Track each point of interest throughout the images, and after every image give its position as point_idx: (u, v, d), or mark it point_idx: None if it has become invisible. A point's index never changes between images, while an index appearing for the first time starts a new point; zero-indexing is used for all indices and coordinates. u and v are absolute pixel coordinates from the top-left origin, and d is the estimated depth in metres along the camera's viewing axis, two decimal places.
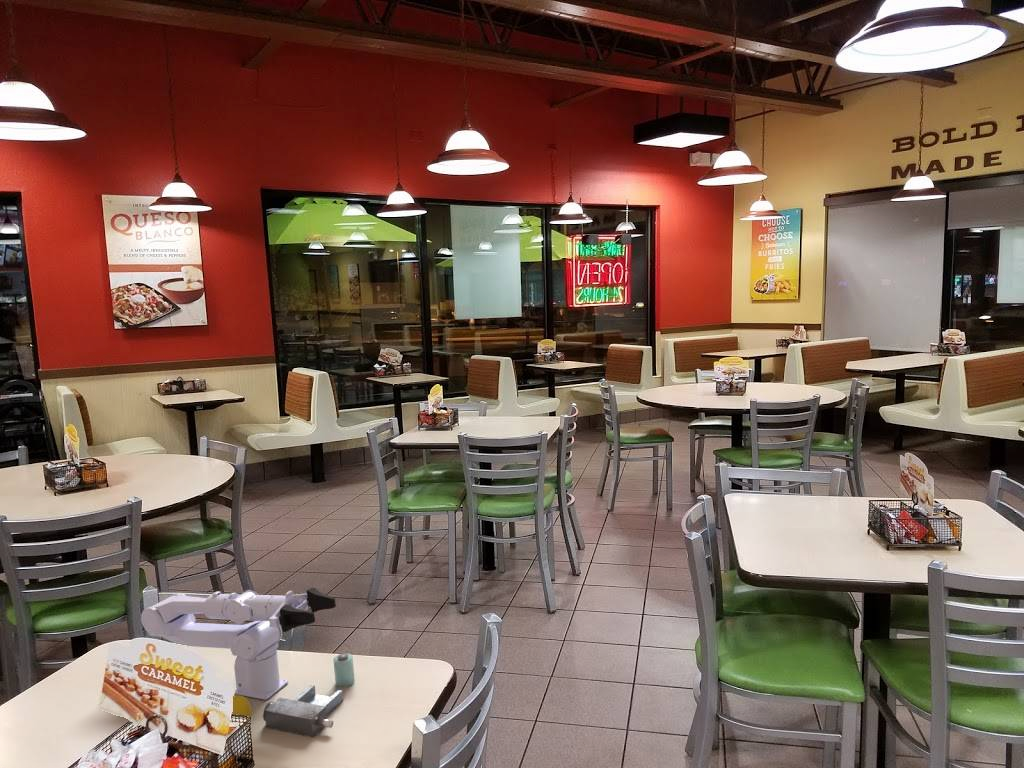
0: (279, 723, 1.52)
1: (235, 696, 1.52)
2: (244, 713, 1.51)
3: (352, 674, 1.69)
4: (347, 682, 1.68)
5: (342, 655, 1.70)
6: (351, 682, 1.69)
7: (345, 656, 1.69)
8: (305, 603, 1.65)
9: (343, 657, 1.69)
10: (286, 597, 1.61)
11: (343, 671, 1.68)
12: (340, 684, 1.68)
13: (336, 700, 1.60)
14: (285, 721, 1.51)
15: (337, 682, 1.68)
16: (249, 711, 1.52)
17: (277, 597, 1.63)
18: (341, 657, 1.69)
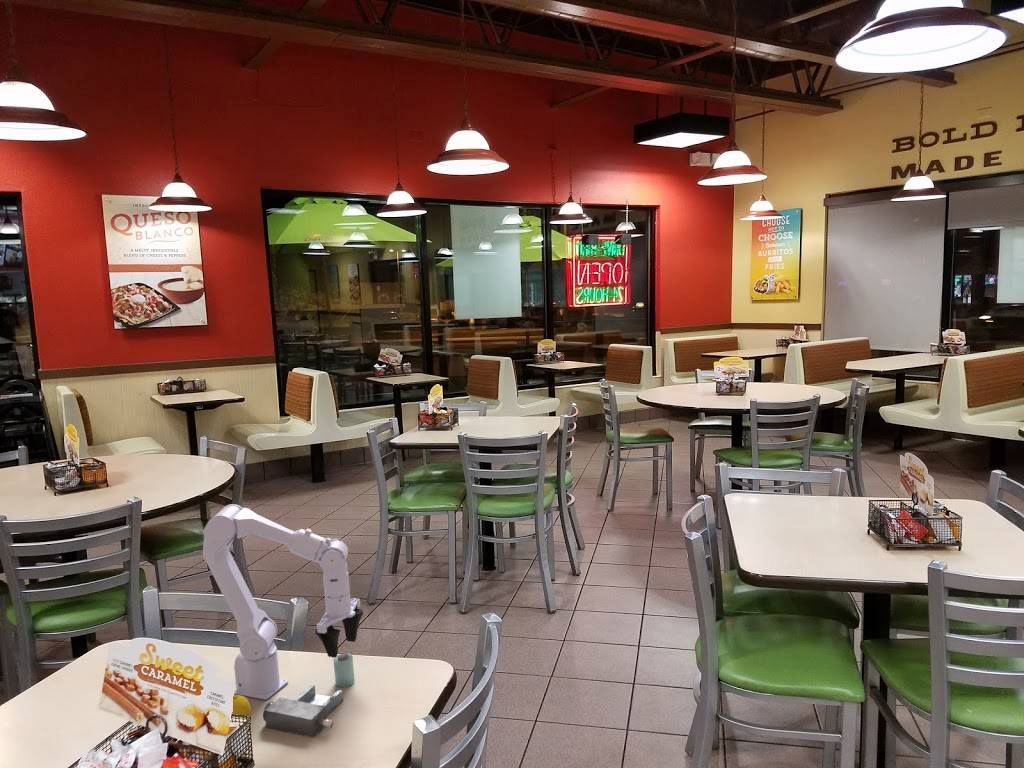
0: (279, 723, 1.52)
1: (235, 696, 1.52)
2: (244, 713, 1.51)
3: (352, 674, 1.69)
4: (347, 682, 1.68)
5: (342, 655, 1.70)
6: (351, 682, 1.69)
7: (345, 656, 1.69)
8: None
9: (343, 657, 1.69)
10: (347, 616, 1.66)
11: (343, 671, 1.68)
12: (340, 684, 1.68)
13: (336, 700, 1.60)
14: (285, 721, 1.51)
15: (337, 682, 1.68)
16: (249, 711, 1.52)
17: (347, 601, 1.66)
18: (341, 657, 1.69)
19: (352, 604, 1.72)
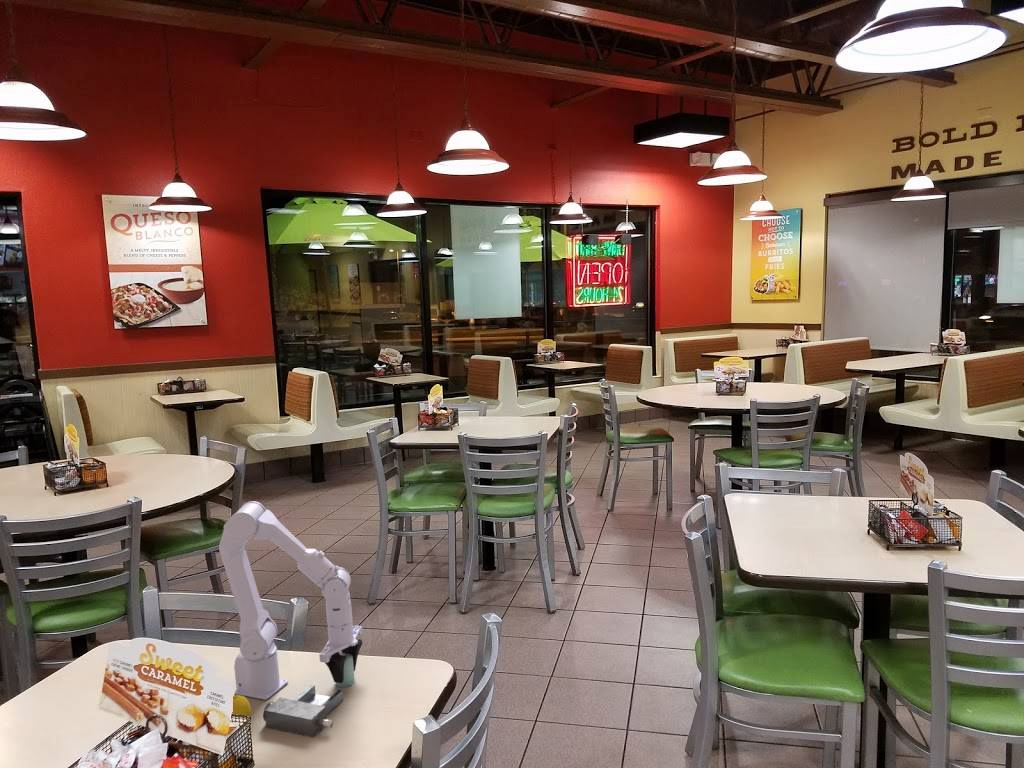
0: (279, 723, 1.52)
1: (235, 696, 1.52)
2: (244, 713, 1.51)
3: (352, 674, 1.69)
4: (347, 682, 1.68)
5: None
6: (351, 682, 1.69)
7: None
8: None
9: None
10: (350, 644, 1.67)
11: None
12: (340, 684, 1.68)
13: (336, 700, 1.60)
14: (285, 721, 1.51)
15: None
16: (249, 711, 1.52)
17: (349, 630, 1.67)
18: None
19: (354, 632, 1.73)
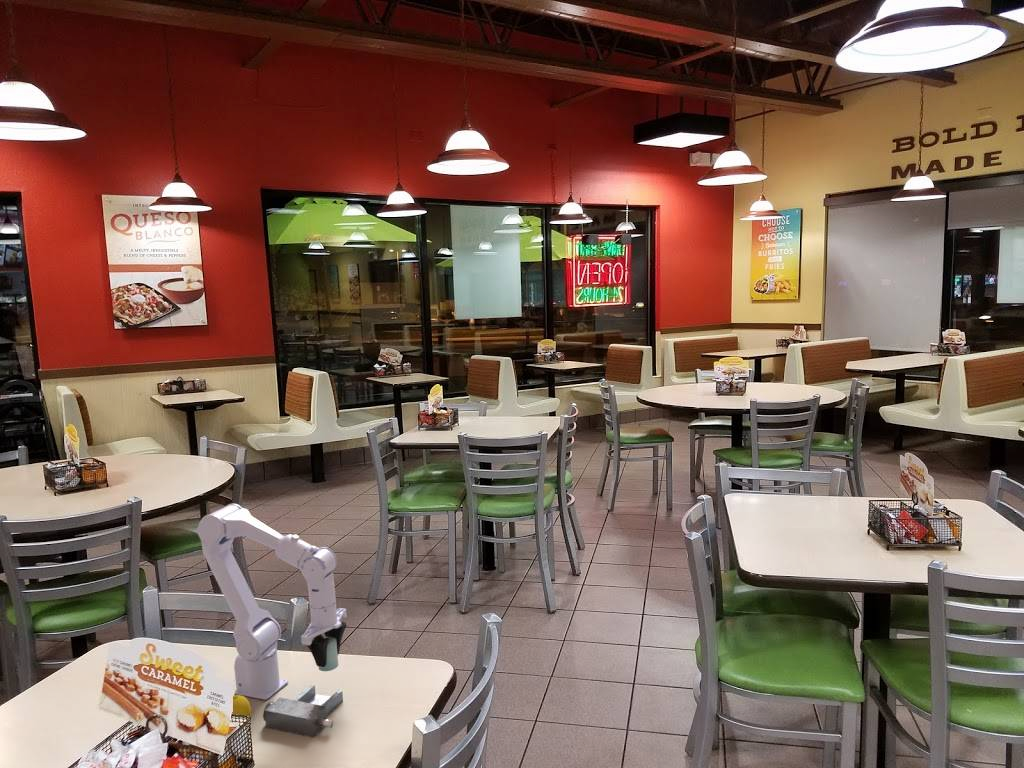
0: (279, 723, 1.52)
1: (235, 696, 1.52)
2: (244, 713, 1.51)
3: (336, 658, 1.63)
4: (330, 666, 1.62)
5: None
6: (335, 666, 1.63)
7: None
8: None
9: None
10: (333, 627, 1.61)
11: (327, 654, 1.62)
12: (323, 668, 1.62)
13: (336, 700, 1.60)
14: (285, 721, 1.51)
15: None
16: (249, 711, 1.52)
17: (332, 612, 1.61)
18: None
19: (338, 614, 1.67)
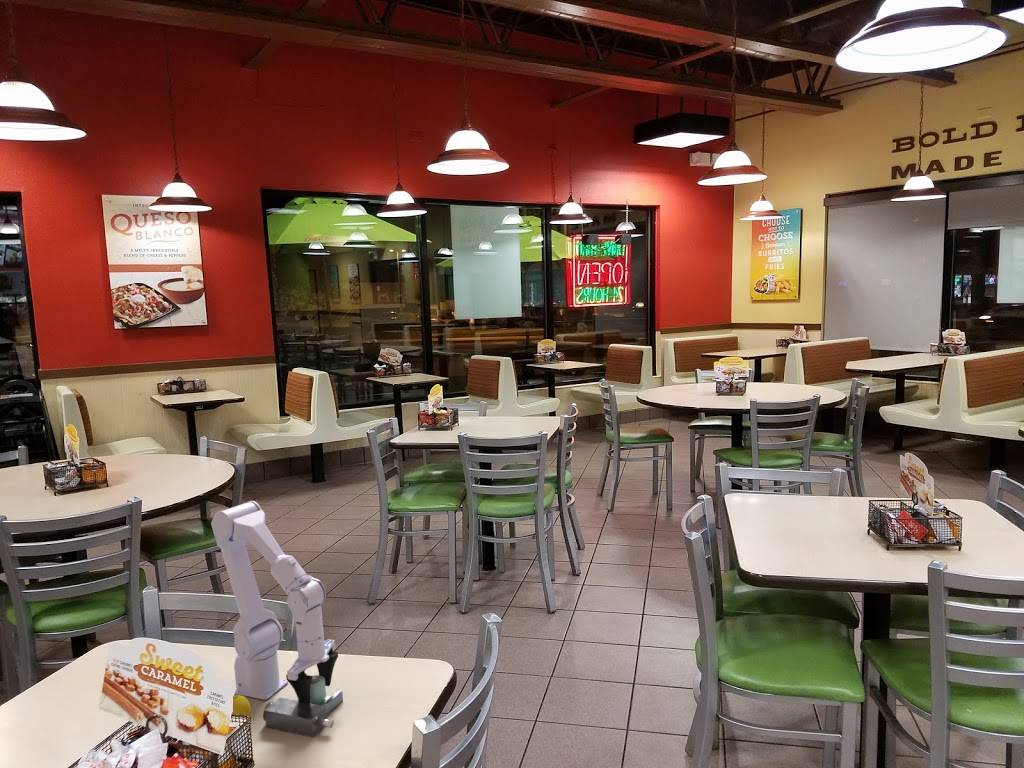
0: (279, 723, 1.52)
1: (235, 696, 1.52)
2: (244, 713, 1.51)
3: (324, 698, 1.59)
4: None
5: (313, 677, 1.59)
6: None
7: (316, 678, 1.59)
8: None
9: (314, 679, 1.59)
10: (321, 660, 1.56)
11: (314, 695, 1.57)
12: None
13: (336, 700, 1.60)
14: (285, 721, 1.51)
15: None
16: (249, 711, 1.52)
17: (320, 645, 1.57)
18: (312, 680, 1.58)
19: (326, 646, 1.62)
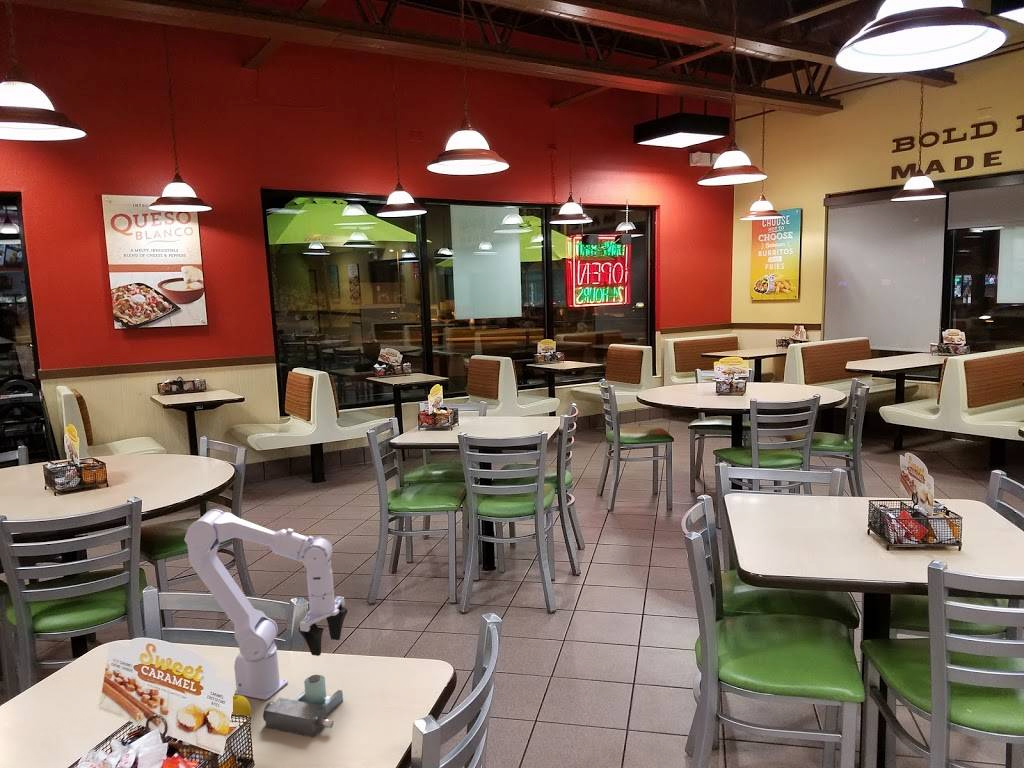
0: (279, 723, 1.52)
1: (235, 696, 1.52)
2: (244, 713, 1.51)
3: (324, 697, 1.59)
4: None
5: (314, 677, 1.60)
6: None
7: (317, 678, 1.59)
8: None
9: (315, 678, 1.59)
10: (331, 614, 1.65)
11: (315, 694, 1.58)
12: None
13: (336, 700, 1.60)
14: (285, 721, 1.51)
15: None
16: (249, 711, 1.52)
17: (330, 599, 1.65)
18: (312, 679, 1.59)
19: (336, 602, 1.71)
